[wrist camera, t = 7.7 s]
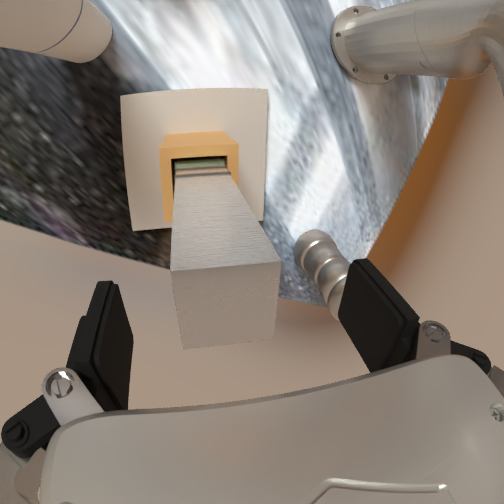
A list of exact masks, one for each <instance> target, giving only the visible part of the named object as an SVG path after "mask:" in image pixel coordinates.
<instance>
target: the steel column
mask: <svg viewBox="0 0 504 504" xmlns="http://www.w3.org/2000/svg"><path fill="white" fill-rule="evenodd" d="M174 183H175V190H174V204H173V220H172V240H171V270H170V272H171V279H172V285H173V292H174V298H175V305H176V311H177V316H178V322H179V328H180V333H181V339H182V344H183V349H189V348H199V347H210V346H219V345H227V344H235V343H243V342H250V341H257V340H264V339H270V338H274V332H275V322H276V313H277V302H278V292H279V281H280V270H281V260H280V258H279V256H278V255H277V253H276V251H275V249H274V248H273V246H272V244H271V243H270V241H269V239H268V237H267V236H266V234H265V232H264V231H263V229H262V227H261V226H260V224H259V222H258V220H257V219H256V217H255V215H254V214H253V212H252V210H251V209H250V207H249V205H248V204H247V202H246V200H245V199H244V197H243V195H242V194H241V192H240V190H239V189H238V187H237V185H236V184H235V182H234V180H233V179H232V177H231V172H230V171H228V170H227V166H225V161H224V159H220V157H219V156H204V157H188V158H177V162H175V175H174Z"/></svg>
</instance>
